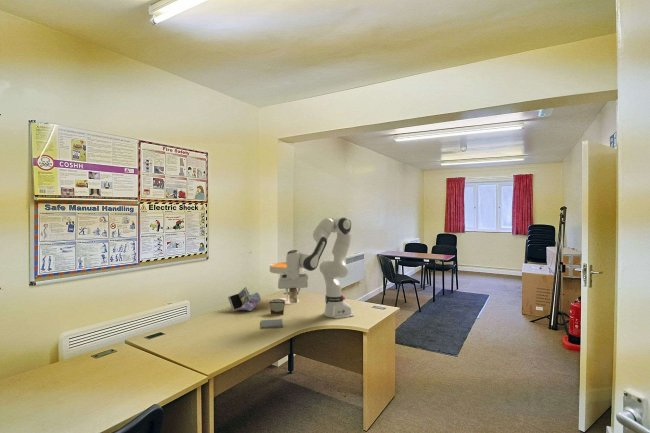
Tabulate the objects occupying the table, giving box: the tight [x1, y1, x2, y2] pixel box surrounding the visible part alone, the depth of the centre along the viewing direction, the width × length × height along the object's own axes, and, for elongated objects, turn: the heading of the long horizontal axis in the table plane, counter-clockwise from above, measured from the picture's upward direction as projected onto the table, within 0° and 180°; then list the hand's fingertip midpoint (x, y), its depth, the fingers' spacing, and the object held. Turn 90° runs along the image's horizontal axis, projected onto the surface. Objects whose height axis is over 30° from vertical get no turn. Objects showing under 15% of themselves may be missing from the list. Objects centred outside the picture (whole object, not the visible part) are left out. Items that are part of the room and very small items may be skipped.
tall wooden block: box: [288, 288, 298, 304], centre depth 225 cm, size 5×9×9 cm, turn 10°
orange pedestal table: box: [269, 261, 306, 306], centre depth 279 cm, size 30×30×31 cm
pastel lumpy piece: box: [227, 286, 262, 312], centre depth 256 cm, size 20×22×18 cm
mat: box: [260, 318, 284, 330], centre depth 222 cm, size 14×14×1 cm
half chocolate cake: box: [268, 298, 285, 316], centre depth 246 cm, size 12×6×10 cm, turn 84°
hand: (293, 294), depth 225 cm, fingers closed on tall wooden block, 5 cm apart
